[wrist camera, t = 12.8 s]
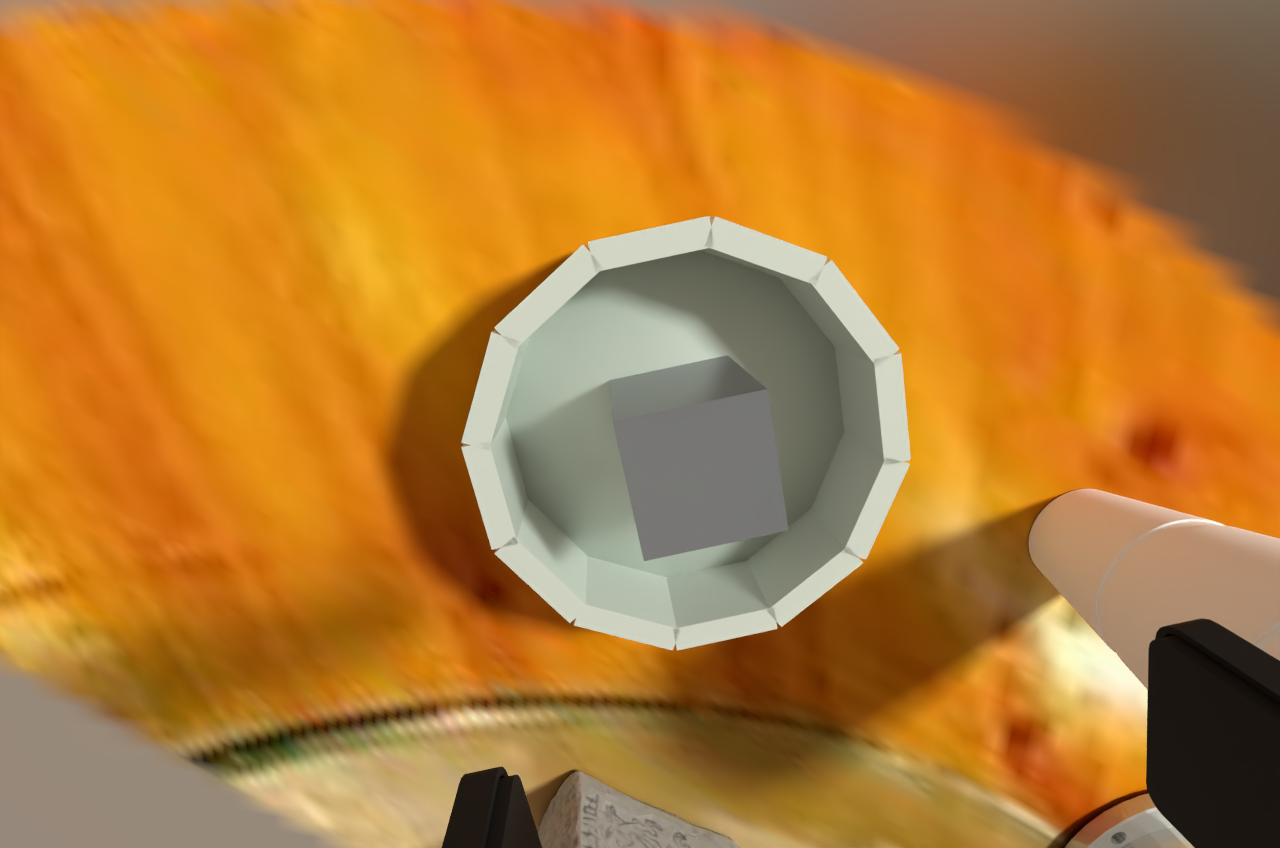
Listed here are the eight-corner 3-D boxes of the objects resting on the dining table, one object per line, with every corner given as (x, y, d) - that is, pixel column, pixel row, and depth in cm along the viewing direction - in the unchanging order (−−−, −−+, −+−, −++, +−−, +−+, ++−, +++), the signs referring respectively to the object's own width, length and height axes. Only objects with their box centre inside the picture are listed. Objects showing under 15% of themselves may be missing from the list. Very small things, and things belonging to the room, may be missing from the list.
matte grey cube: (727, 355, 26) (767, 388, 20) (745, 466, 28) (788, 530, 21) (609, 380, 26) (612, 421, 20) (633, 490, 28) (643, 561, 21)
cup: (1193, 412, 29) (2040, 648, 12) (1174, 612, 32) (1836, 1031, 15) (968, 449, 29) (1504, 743, 12) (970, 647, 32) (1402, 1113, 15)
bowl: (832, 191, 26) (885, 178, 21) (871, 541, 30) (923, 597, 25) (446, 273, 26) (410, 279, 21) (541, 612, 30) (531, 681, 25)
